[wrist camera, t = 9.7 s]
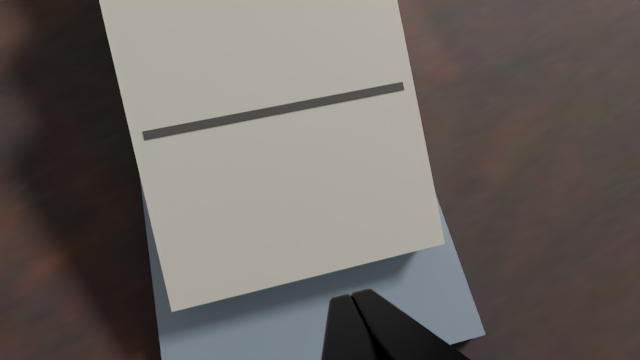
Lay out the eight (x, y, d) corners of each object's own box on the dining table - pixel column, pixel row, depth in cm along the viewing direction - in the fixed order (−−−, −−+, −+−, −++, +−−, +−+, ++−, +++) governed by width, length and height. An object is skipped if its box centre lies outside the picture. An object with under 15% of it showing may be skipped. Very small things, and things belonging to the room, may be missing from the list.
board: (476, 334, 17) (485, 334, 16) (175, 419, 15) (169, 425, 14) (324, -104, 25) (325, -117, 24) (113, -77, 23) (107, -91, 22)
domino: (445, 243, 15) (381, -83, 15) (171, 312, 14) (88, -44, 14) (425, 236, 17) (367, -55, 17) (181, 296, 16) (108, -18, 15)
